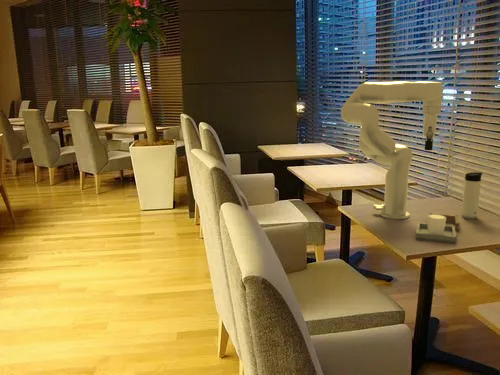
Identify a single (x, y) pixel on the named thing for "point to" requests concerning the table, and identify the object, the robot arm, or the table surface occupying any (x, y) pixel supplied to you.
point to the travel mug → (471, 195)
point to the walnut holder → (451, 219)
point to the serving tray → (447, 236)
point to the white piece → (436, 224)
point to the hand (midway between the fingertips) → (428, 148)
